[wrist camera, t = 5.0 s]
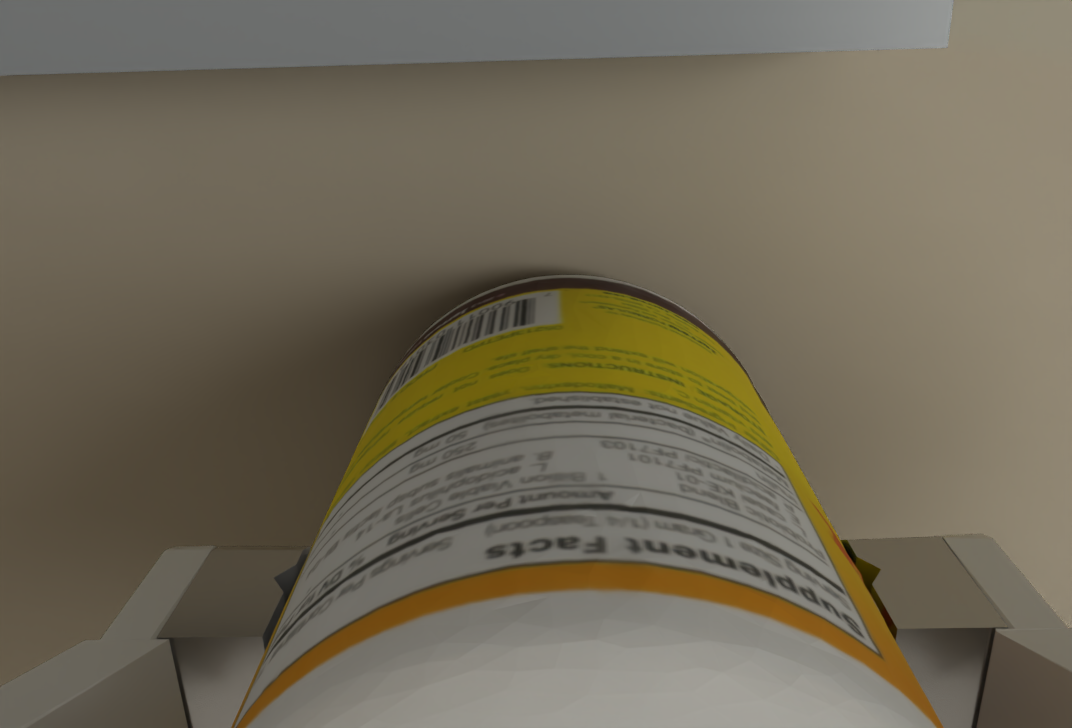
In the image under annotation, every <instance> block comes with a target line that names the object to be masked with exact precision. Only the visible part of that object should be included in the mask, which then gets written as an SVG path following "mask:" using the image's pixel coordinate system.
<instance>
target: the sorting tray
mask: <svg viewBox="0 0 1072 728" xmlns="http://www.w3.org/2000/svg"><path fill="white" fill-rule="evenodd" d="M953 2H954V0H0V75H34V74H68V73H102V72H137V71H171V70H205V69H239V68H274V67H308V66H342V65H376V64H410V63H445V62H479V61H513V60H547V59H582V58H616V57H650V56H684V55H718V54H753V53H787V52H821V51H855V50H889V49H924V48H948V40H949V32H950V25H951V17H952V10H953Z"/></svg>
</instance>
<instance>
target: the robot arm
mask: <svg viewBox="0 0 1072 728" xmlns="http://www.w3.org/2000/svg"><path fill="white" fill-rule="evenodd" d="M840 541H841V543H842V544H843V546H844V548H845V550H846V552H847V554H848V555H849V557H850V559H851V560H852V562H853V563H854V564H855V566H856V567H857V569H858V570H859V572H860V573H861V575H862V578H863V582H864V584H865V586H866V588H867V589H868V591H869V593H870V594H871V596H872V598H873V600H874V602H875V603H876V605H877V607H878V609H879V611H880V613H881V615H882V617H883V618H884V620H885V623H886V625H887V627H888V629H889V630H890V632H891V634H892V636H893V638H894V639H895V641H896V643H897V645H898V646H899V648H900V650H901V652H902V654H903V655H904V657H905V659H906V661H907V663H908V664H909V666H910V668H911V670H912V672H913V674H914V676H915V677H916V679H917V681H918V683H919V684H920V686H921V688H922V690H923V692H924V693H925V695H926V697H927V699H928V700H929V702H930V704H931V706H932V707H933V709H934V711H935V713H936V715H937V717H938V718H939V720H940V722H941V724H942V726H943V727H944V728H1072V628H1068V627H1067V626H1066V625H1065V624H1064V623H1063V621H1062V620H1061V619H1060V618H1059V617H1058V615H1057V614H1056V613H1055V612H1054V611H1053V609H1052V608H1051V607H1050V606H1049V605H1048V604H1047V602H1046V601H1045V600H1044V599H1043V598H1042V596H1041V595H1040V594H1039V593H1038V592H1037V591H1036V589H1035V588H1034V587H1033V586H1032V585H1031V583H1030V582H1029V581H1028V580H1027V579H1026V578H1025V576H1024V575H1023V574H1022V573H1021V572H1020V570H1019V569H1018V568H1017V567H1016V566H1015V564H1014V563H1013V562H1012V561H1011V560H1010V559H1009V557H1008V556H1007V555H1006V554H1005V553H1004V551H1003V550H1002V549H1001V548H1000V547H999V546H998V544H997V543H996V542H995V541H994V540H993V539H992V538H991V537H988V536H986V535H984V534H965V535H946V536H934V537H908V538H883V539H857V540H840ZM310 550H311V548H310V547H309V546H220V547H217V546H180V547H173V548H170V549H166V550H165V551H164V552H163V553H162V555H161V556H160V557H159V559H158V560H157V562H156V563H155V564H154V566H153V567H152V568H151V570H150V571H149V573H148V574H147V575H146V577H145V578H144V579H143V581H142V582H141V584H140V585H139V586H138V588H137V589H136V590H135V592H134V593H133V595H132V596H131V597H130V599H129V600H128V601H127V603H126V604H125V606H124V607H123V608H122V610H121V611H120V613H119V614H118V615H117V617H116V618H115V619H114V621H113V622H112V624H111V625H110V626H109V628H108V629H107V630H106V632H105V633H104V635H103V636H102V637H101V639H100V640H84V641H82V642H81V643H79V644H77V645H75V646H73V647H72V648H70V649H68V650H66V651H64V652H62V653H61V654H59V655H57V656H55V657H53V658H51V659H50V660H48V661H46V662H44V663H42V664H41V665H39V666H37V667H35V668H33V669H31V670H30V671H28V672H26V673H24V674H22V675H20V676H19V677H17V678H15V679H13V680H11V681H10V682H8V683H6V684H4V685H2V686H0V728H231V727H232V724H233V722H234V720H235V718H236V716H237V713H238V711H239V709H240V707H241V704H242V702H243V700H244V698H245V695H246V693H247V691H248V688H249V686H250V684H251V682H252V679H253V677H254V675H255V673H256V670H257V668H258V666H259V664H260V661H261V659H262V657H263V655H264V652H265V650H266V648H267V646H268V643H269V641H270V639H271V636H272V634H273V632H274V629H275V627H276V625H277V623H278V620H279V618H280V616H281V613H282V611H283V609H284V607H285V604H286V602H287V600H288V598H289V596H290V593H291V591H292V589H293V587H294V585H295V583H296V580H297V578H298V576H299V574H300V572H301V570H302V567H303V565H304V563H305V561H306V559H307V557H308V555H309V552H310Z"/></svg>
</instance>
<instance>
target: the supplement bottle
mask: <svg viewBox="0 0 1072 728" xmlns="http://www.w3.org/2000/svg"><path fill="white" fill-rule="evenodd" d="M231 728H944V727H943V726H942V724H941V722H940V720H939V718H938V717H937V715H936V713H935V711H934V709H933V707H932V706H931V704H930V702H929V700H928V699H927V697H926V695H925V693H924V692H923V690H922V688H921V686H920V684H919V683H918V681H917V679H916V677H915V676H914V674H913V672H912V670H911V668H910V666H909V664H908V663H907V661H906V659H905V657H904V655H903V654H902V652H901V650H900V648H899V646H898V645H897V643H896V641H895V639H894V638H893V636H892V634H891V632H890V630H889V629H888V627H887V625H886V623H885V620H884V618H883V617H882V615H881V613H880V611H879V609H878V607H877V605H876V603H875V602H874V600H873V598H872V596H871V594H870V593H869V591H868V589H867V588H866V586H865V584H864V582H863V578H862V575H861V573H860V572H859V570H858V569H857V567H856V566H855V564H854V563H853V562H852V560H851V559H850V557H849V555H848V554H847V552H846V550H845V548H844V546H843V544H842V543H841V541H840V539H839V537H838V535H837V533H836V532H835V530H834V528H833V526H832V525H831V523H830V521H829V520H828V518H827V516H826V514H825V512H824V511H823V509H822V507H821V505H820V503H819V501H818V499H817V498H816V496H815V494H814V492H813V490H812V489H811V487H810V485H809V483H808V481H807V480H806V478H805V476H804V474H803V472H802V471H801V469H800V467H799V465H798V464H797V462H796V460H795V458H794V456H793V455H792V453H791V451H790V449H789V447H788V446H787V444H786V442H785V440H784V438H783V437H782V435H781V433H780V431H779V430H778V428H777V426H776V425H775V423H774V421H773V419H772V418H771V416H770V414H769V412H768V410H767V408H766V406H765V403H764V402H763V400H762V399H761V397H760V395H759V394H758V392H757V391H756V389H755V387H754V385H753V383H752V381H751V379H750V377H749V376H748V374H747V372H746V370H745V369H744V368H743V366H742V365H741V363H740V362H739V361H738V359H737V358H736V356H735V355H734V354H733V353H732V352H731V350H730V349H729V348H728V347H727V346H726V345H725V343H724V342H723V341H722V340H721V339H720V338H719V337H718V336H717V335H716V334H715V333H714V332H713V331H712V330H711V329H710V328H709V327H708V326H707V325H705V324H704V323H703V322H702V321H701V320H700V319H698V318H697V317H696V316H694V315H693V314H692V313H690V312H689V311H687V310H686V309H684V308H683V307H681V306H680V305H678V304H676V303H675V302H673V301H671V300H669V299H667V298H665V297H663V296H661V295H659V294H657V293H654V292H652V291H650V290H647V289H645V288H642V287H640V286H636V285H633V284H630V283H627V282H623V281H619V280H614V279H610V278H605V277H596V276H587V275H552V276H541V277H534V278H529V279H523V280H519V281H515V282H512V283H508V284H505V285H502V286H499V287H496V288H493V289H491V290H488V291H486V292H483V293H481V294H479V295H477V296H475V297H473V298H471V299H469V300H467V301H465V302H464V303H462V304H460V305H459V306H457V307H456V308H454V309H453V310H451V311H450V312H448V313H447V314H445V315H444V316H443V317H441V318H440V319H439V320H437V321H436V322H435V323H434V324H433V325H431V326H430V327H429V328H428V329H427V330H426V331H425V332H424V333H423V334H422V335H421V336H420V338H419V339H418V340H417V341H416V342H415V343H414V344H413V345H412V346H411V348H410V349H409V350H408V351H407V352H406V353H405V355H404V356H403V358H402V359H401V361H400V362H399V363H398V365H397V366H396V368H395V370H394V371H393V373H392V375H391V377H390V378H389V380H388V382H387V384H386V386H385V388H384V390H383V392H382V393H381V395H380V397H379V400H378V402H377V404H376V406H375V409H374V411H373V413H372V415H371V417H370V419H369V421H368V424H367V426H366V428H365V430H364V432H363V435H362V437H361V439H360V441H359V443H358V446H357V448H356V450H355V452H354V454H353V457H352V459H351V461H350V463H349V466H348V468H347V470H346V472H345V474H344V477H343V479H342V481H341V483H340V485H339V488H338V490H337V492H336V494H335V496H334V499H333V501H332V503H331V505H330V508H329V510H328V512H327V514H326V516H325V518H324V520H323V523H322V525H321V528H320V530H319V532H318V534H317V536H316V539H315V541H314V543H313V545H312V547H311V550H310V552H309V555H308V557H307V559H306V561H305V563H304V565H303V567H302V570H301V572H300V574H299V576H298V578H297V580H296V583H295V585H294V587H293V589H292V591H291V593H290V596H289V598H288V600H287V602H286V604H285V607H284V609H283V611H282V613H281V616H280V618H279V620H278V623H277V625H276V627H275V629H274V632H273V634H272V636H271V639H270V641H269V643H268V646H267V648H266V650H265V652H264V655H263V657H262V659H261V661H260V664H259V666H258V668H257V670H256V673H255V675H254V677H253V679H252V682H251V684H250V686H249V688H248V691H247V693H246V695H245V698H244V700H243V702H242V704H241V707H240V709H239V711H238V713H237V716H236V718H235V720H234V722H233V724H232V727H231Z"/></svg>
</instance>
